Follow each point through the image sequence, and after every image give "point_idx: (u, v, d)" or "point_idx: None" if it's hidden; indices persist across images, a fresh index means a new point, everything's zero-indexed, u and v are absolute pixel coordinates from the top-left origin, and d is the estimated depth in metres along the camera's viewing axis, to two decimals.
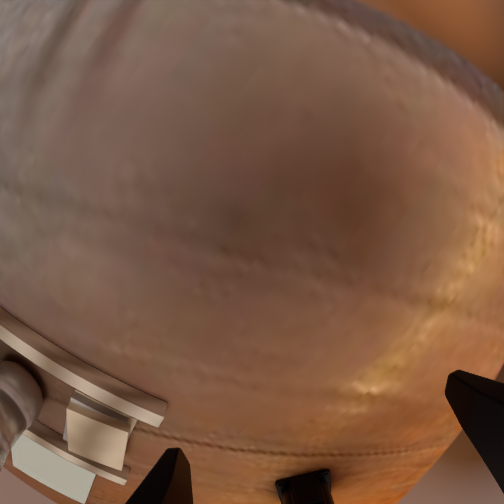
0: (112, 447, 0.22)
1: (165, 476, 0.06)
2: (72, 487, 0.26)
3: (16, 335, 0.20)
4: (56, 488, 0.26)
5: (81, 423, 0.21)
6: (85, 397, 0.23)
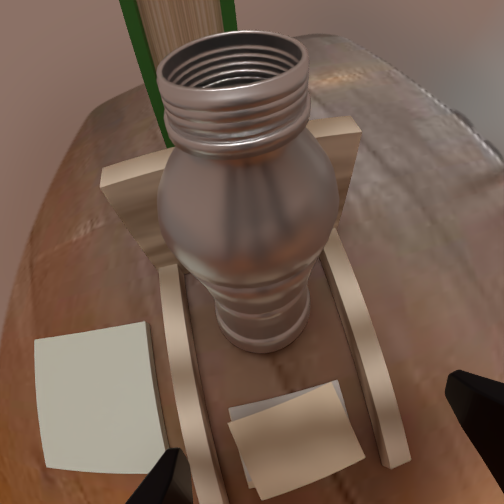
0: (312, 464, 0.16)
1: (164, 476, 0.06)
2: (80, 445, 0.18)
3: (355, 278, 0.23)
4: (46, 418, 0.19)
5: (321, 410, 0.18)
6: None
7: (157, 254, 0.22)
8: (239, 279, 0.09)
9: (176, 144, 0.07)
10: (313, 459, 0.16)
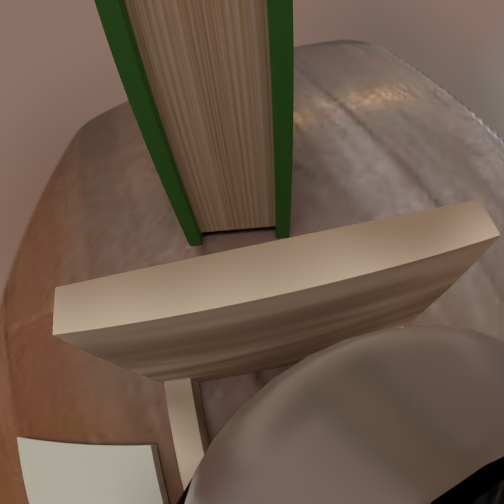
0: None
1: None
2: None
3: None
4: None
5: None
6: None
7: (162, 375, 0.15)
8: None
9: None
10: None
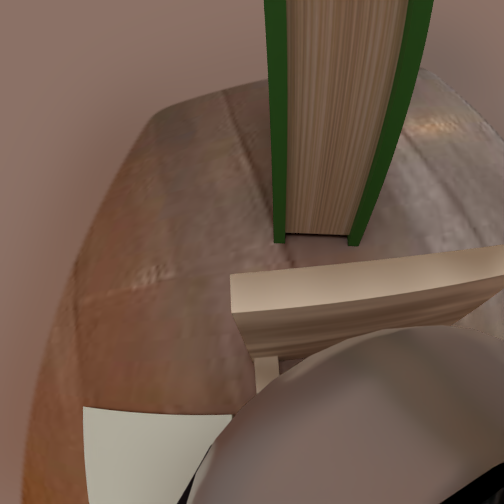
0: None
1: None
2: None
3: None
4: (97, 492, 0.16)
5: None
6: None
7: (262, 351, 0.18)
8: None
9: None
10: None
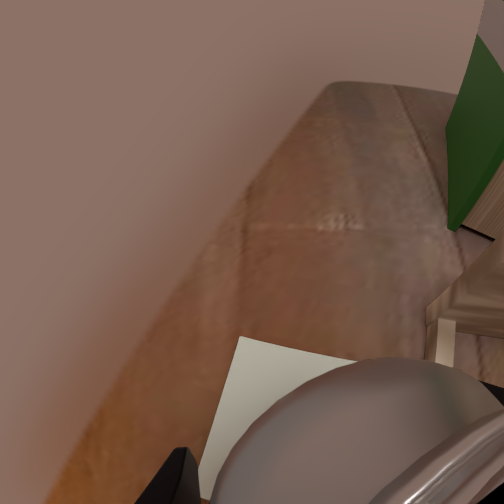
0: None
1: (173, 476, 0.06)
2: None
3: None
4: (222, 441, 0.17)
5: None
6: None
7: (458, 309, 0.17)
8: None
9: None
10: None
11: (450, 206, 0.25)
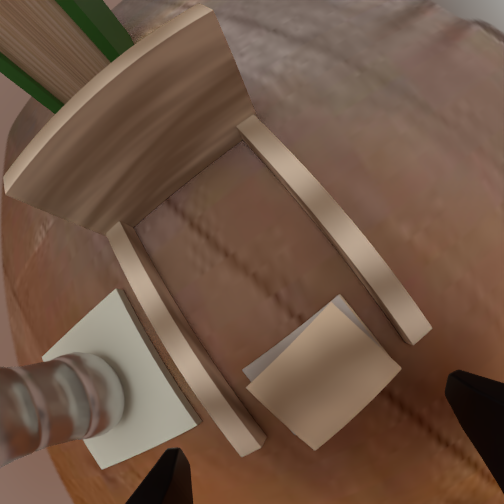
0: (348, 395, 0.16)
1: (165, 476, 0.06)
2: (115, 434, 0.20)
3: (292, 154, 0.20)
4: None
5: (334, 336, 0.17)
6: None
7: (95, 221, 0.21)
8: None
9: None
10: (347, 390, 0.16)
11: None
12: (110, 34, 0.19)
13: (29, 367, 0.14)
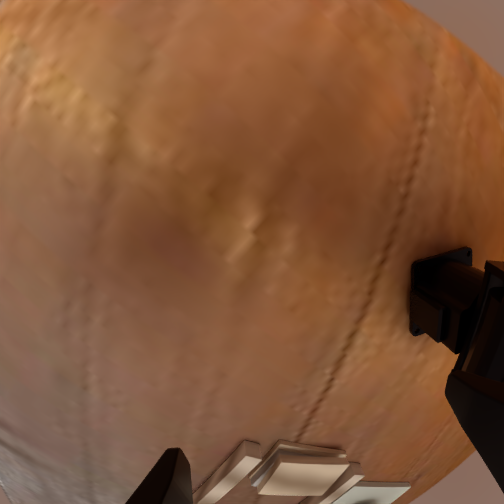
0: (308, 471, 0.23)
1: (165, 476, 0.06)
2: (381, 496, 0.29)
3: None
4: None
5: (276, 487, 0.23)
6: (255, 473, 0.25)
7: None
8: None
9: None
10: (305, 473, 0.23)
11: None
12: None
13: None
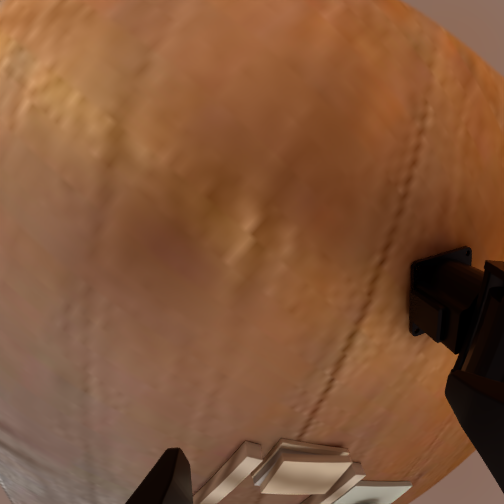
0: (311, 470, 0.23)
1: (165, 476, 0.06)
2: (382, 495, 0.29)
3: None
4: (387, 503, 0.30)
5: (279, 486, 0.23)
6: (258, 472, 0.25)
7: None
8: None
9: None
10: (308, 471, 0.23)
11: None
12: None
13: None
